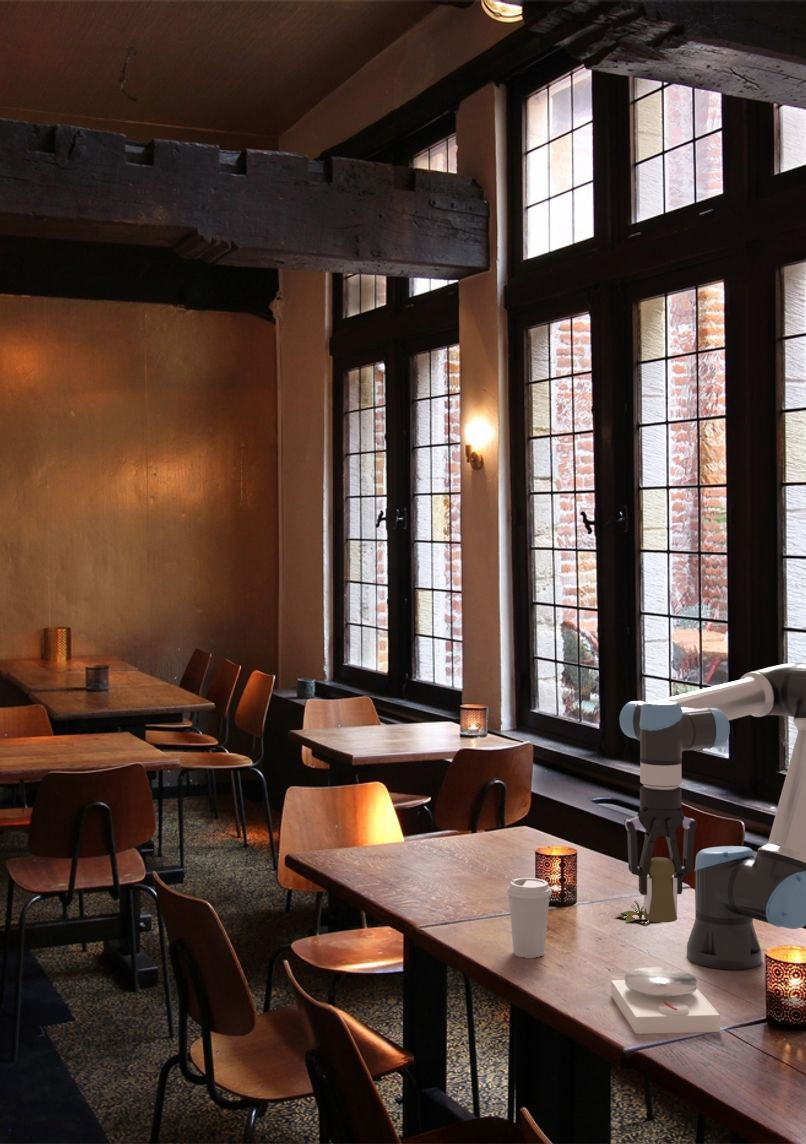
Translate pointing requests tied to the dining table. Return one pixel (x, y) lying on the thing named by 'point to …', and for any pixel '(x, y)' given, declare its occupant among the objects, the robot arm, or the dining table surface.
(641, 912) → the lily flower
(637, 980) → the pan
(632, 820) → the robot arm
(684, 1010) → the scale base
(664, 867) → the cork
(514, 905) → the coffee cup
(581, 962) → the dining table surface
